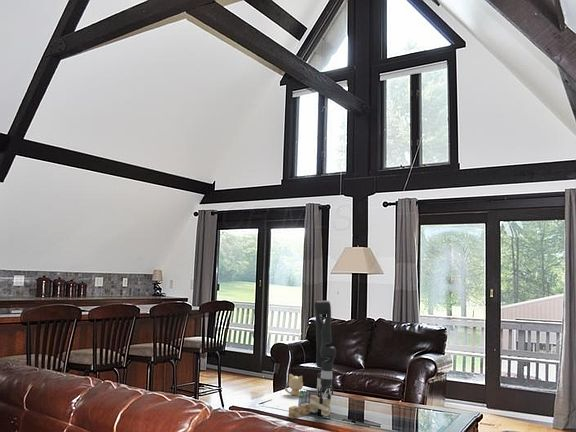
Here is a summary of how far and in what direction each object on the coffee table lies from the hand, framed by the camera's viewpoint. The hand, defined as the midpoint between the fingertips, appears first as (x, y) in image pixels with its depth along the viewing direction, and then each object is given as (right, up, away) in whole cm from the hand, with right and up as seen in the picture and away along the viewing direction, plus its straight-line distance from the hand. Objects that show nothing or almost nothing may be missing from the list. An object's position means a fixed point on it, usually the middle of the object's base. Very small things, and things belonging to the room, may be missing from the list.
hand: (324, 402), depth 335 cm
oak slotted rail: (-17, -6, -6) cm, 19 cm away
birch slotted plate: (-3, -8, +2) cm, 9 cm away
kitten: (-18, -12, +47) cm, 52 cm away
